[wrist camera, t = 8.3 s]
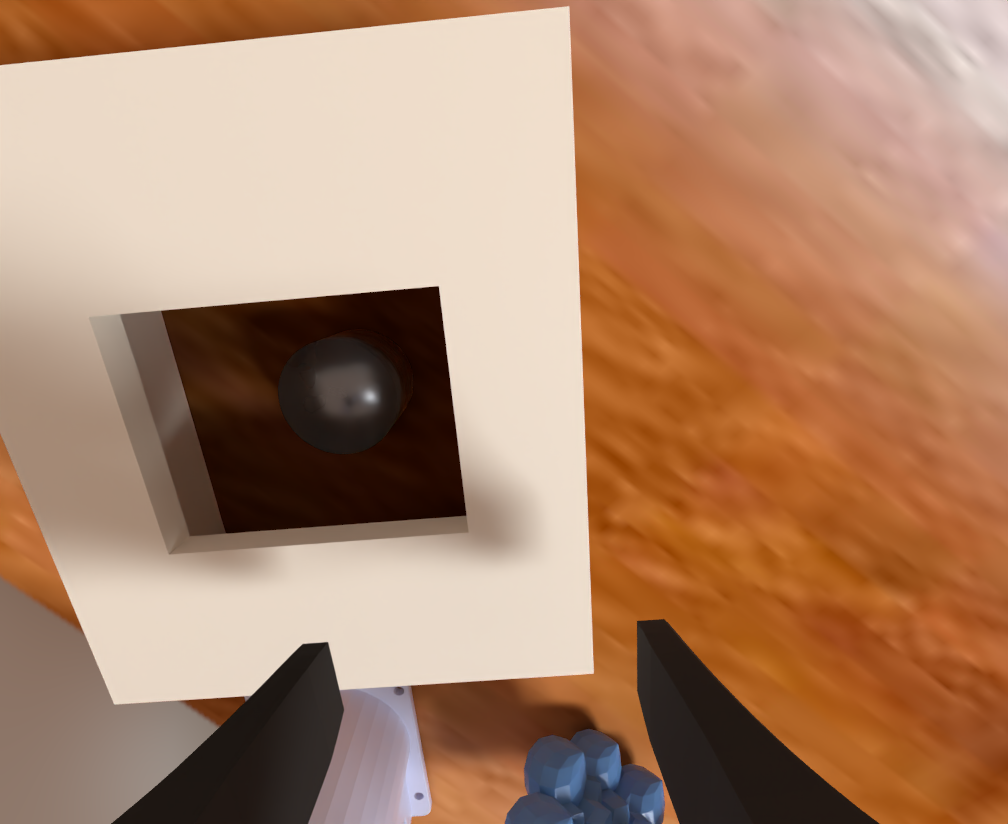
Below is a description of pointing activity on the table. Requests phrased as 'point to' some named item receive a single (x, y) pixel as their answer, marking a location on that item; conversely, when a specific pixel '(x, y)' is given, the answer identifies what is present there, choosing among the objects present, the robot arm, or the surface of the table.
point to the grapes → (586, 784)
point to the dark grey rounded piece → (345, 390)
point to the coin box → (290, 275)
